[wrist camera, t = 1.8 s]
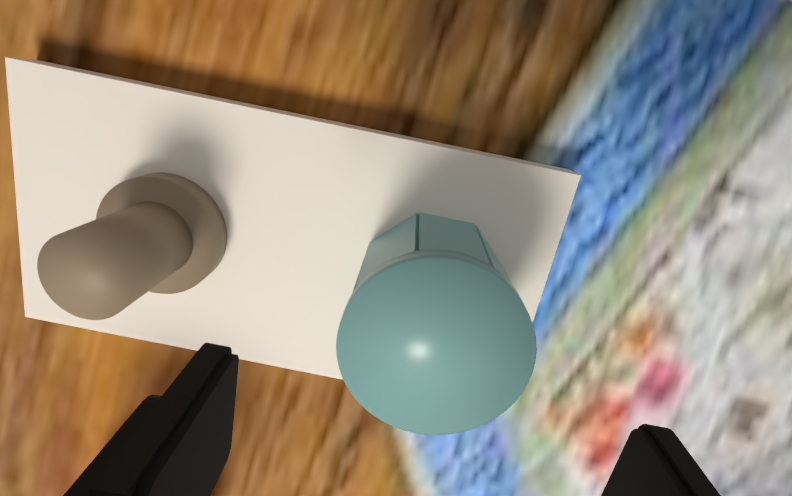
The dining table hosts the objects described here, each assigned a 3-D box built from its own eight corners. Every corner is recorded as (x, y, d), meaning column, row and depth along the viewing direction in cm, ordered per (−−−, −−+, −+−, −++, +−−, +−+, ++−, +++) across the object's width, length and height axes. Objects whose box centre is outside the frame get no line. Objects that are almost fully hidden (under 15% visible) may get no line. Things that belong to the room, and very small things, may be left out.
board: (569, 169, 21) (642, 207, 14) (498, 391, 24) (528, 507, 18) (36, 59, 20) (-159, 43, 13) (50, 302, 24) (-96, 385, 17)
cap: (522, 228, 20) (563, 282, 14) (483, 358, 22) (505, 450, 16) (372, 198, 20) (353, 240, 14) (348, 331, 22) (322, 415, 16)
